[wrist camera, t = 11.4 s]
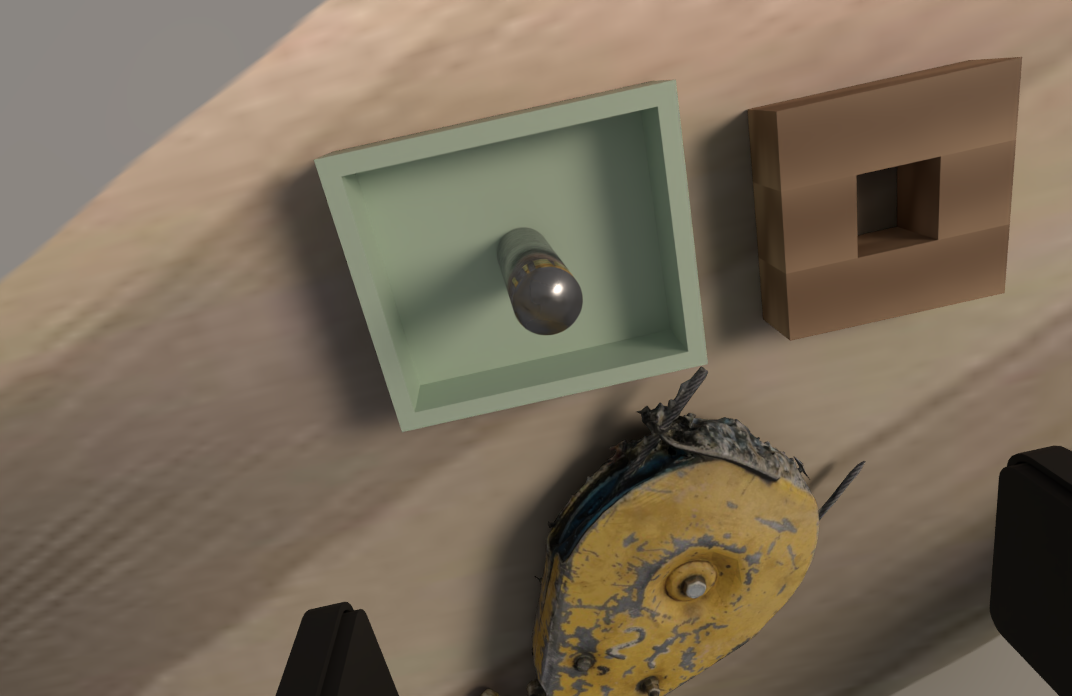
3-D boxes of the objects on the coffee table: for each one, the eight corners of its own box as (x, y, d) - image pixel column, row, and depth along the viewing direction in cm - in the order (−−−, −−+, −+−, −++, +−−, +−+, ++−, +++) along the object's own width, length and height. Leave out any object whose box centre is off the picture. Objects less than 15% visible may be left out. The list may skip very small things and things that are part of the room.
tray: (684, 336, 32) (707, 364, 29) (409, 397, 32) (402, 432, 29) (652, 81, 28) (675, 79, 25) (332, 151, 28) (313, 159, 25)
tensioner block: (959, 275, 32) (1004, 293, 30) (763, 319, 32) (790, 340, 30) (969, 60, 29) (1022, 57, 26) (747, 109, 29) (776, 111, 26)
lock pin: (553, 273, 30) (588, 326, 23) (502, 284, 30) (519, 342, 22) (544, 222, 29) (576, 260, 22) (491, 233, 29) (506, 275, 22)
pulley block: (372, 835, 35) (721, 394, 27) (373, 731, 40) (665, 335, 32) (581, 861, 40) (918, 504, 32) (558, 767, 45) (845, 439, 38)
